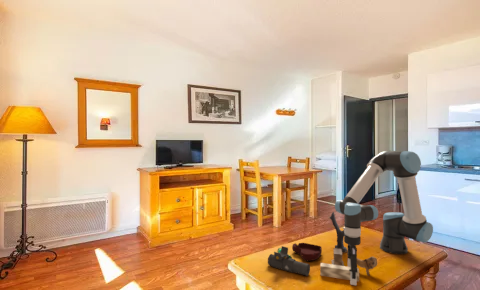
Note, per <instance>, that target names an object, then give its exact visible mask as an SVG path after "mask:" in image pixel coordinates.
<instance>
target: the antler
mask: <svg viewBox="0 0 480 290" xmlns="http://www.w3.org/2000/svg"><path fill="white" fill-rule="evenodd" d="M329 219H330V221H331V222H332V225H333V227H334V229H335V232H336V245H334V248H337V249H341V250H342V254H344V253H348V247H347V246H344V235H345V233H344V229H342V230H341V228H340V226H339V224H338V222H337V219H336V215H335V212H334V211H332V212H331V215H330V216H329Z"/></svg>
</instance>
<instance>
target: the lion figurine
mask: <svg viewBox="0 0 480 290" xmlns="http://www.w3.org/2000/svg"><path fill="white" fill-rule="evenodd" d="M377 265H378V259H377V257H375V256H370V257H368V258H365V259H360V258H358V257H357V266H358V267H360V268H365V271H366V275H367V276H370V270H373V269H374V268H376V267H377Z"/></svg>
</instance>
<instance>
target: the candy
mask: <svg viewBox="0 0 480 290" xmlns="http://www.w3.org/2000/svg"><path fill="white" fill-rule="evenodd" d="M281 248H282V247H278V249H277V251H276V252H277V253H280V251H281ZM288 255H289V258H292V259H293V257H292V255H290V254H288Z"/></svg>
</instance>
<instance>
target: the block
mask: <svg viewBox="0 0 480 290" xmlns="http://www.w3.org/2000/svg"><path fill="white" fill-rule="evenodd" d="M349 269H350V270H351V267H348V265H347V266H345V265H344V266H340V265H333V264H332V263H325V262H320V269H319V271H320V275H319V276H321V277H328V278H334V279H335V278H336V279H340V280H347V281H350V271H349ZM357 271H358V272H357V282H360V270H359V267H357Z"/></svg>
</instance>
